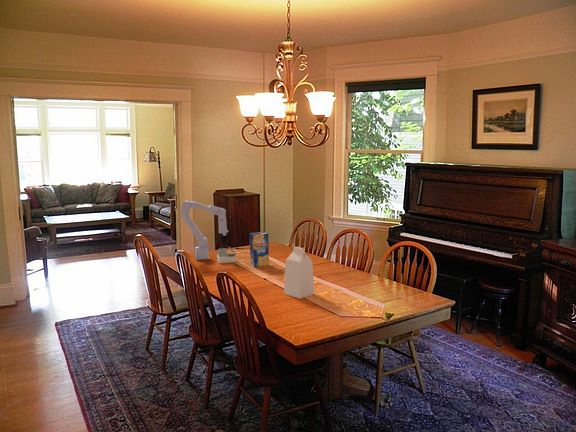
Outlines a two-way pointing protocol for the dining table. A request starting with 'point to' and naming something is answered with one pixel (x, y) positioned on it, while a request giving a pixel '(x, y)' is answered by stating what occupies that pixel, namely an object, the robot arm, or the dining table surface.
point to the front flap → (222, 252)
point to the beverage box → (259, 249)
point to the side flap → (232, 250)
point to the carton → (226, 258)
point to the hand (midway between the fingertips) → (223, 243)
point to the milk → (298, 274)
